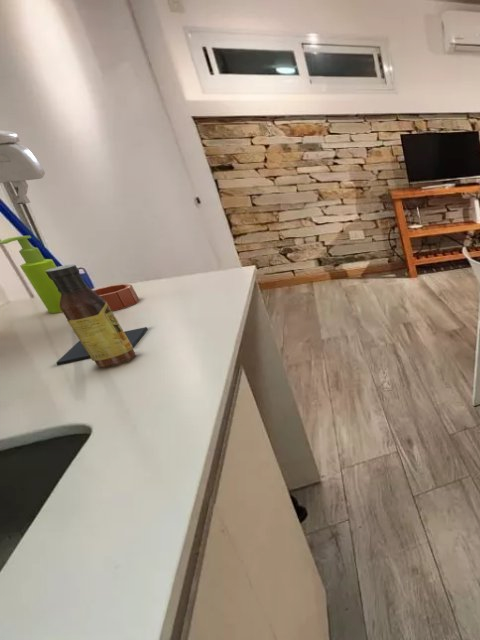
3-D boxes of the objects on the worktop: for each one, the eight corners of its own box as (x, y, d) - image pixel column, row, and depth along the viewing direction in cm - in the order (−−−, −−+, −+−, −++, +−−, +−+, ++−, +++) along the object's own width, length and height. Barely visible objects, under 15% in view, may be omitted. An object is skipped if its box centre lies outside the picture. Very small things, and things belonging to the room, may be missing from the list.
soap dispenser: (39, 314, 126) (-9, 240, 117) (70, 304, 132) (27, 233, 123) (54, 315, 124) (7, 240, 116) (85, 305, 130) (42, 233, 122)
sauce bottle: (142, 357, 97) (89, 264, 88) (103, 371, 92) (43, 274, 83) (130, 351, 100) (78, 260, 91) (91, 365, 95) (32, 270, 86)
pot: (85, 316, 122) (75, 300, 120) (99, 304, 130) (90, 289, 128) (132, 307, 126) (124, 291, 124) (143, 296, 134) (135, 281, 132)
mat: (57, 365, 96) (55, 362, 96) (80, 343, 106) (78, 340, 106) (132, 348, 101) (131, 346, 101) (147, 329, 111) (146, 326, 110)
